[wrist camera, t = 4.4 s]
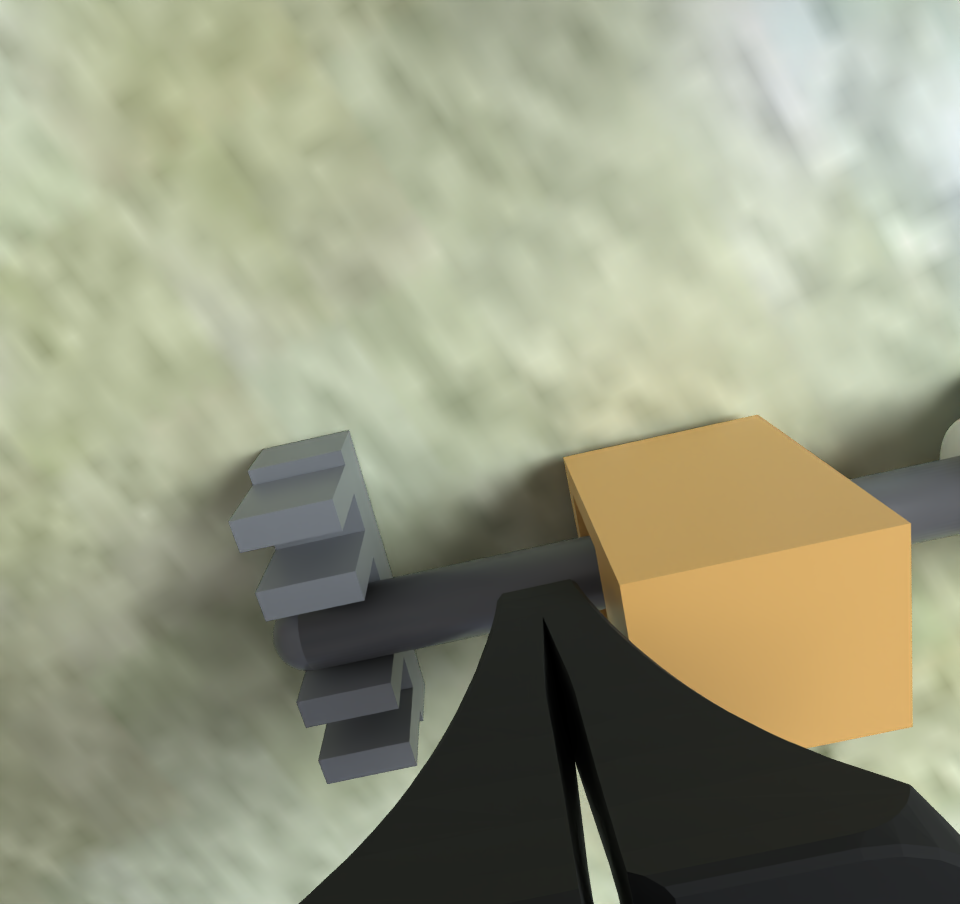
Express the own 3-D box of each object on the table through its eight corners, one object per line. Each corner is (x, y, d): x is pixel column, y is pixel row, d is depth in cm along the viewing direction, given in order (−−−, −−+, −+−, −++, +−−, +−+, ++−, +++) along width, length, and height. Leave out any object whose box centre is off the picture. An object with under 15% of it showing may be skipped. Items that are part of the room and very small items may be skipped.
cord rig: (337, 703, 17) (311, 824, 13) (249, 452, 14) (192, 525, 11) (1106, 541, 16) (1269, 627, 13) (1135, 255, 14) (1340, 273, 11)
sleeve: (590, 602, 16) (653, 779, 11) (563, 456, 14) (619, 585, 10) (770, 564, 16) (912, 727, 11) (757, 414, 14) (910, 523, 10)
